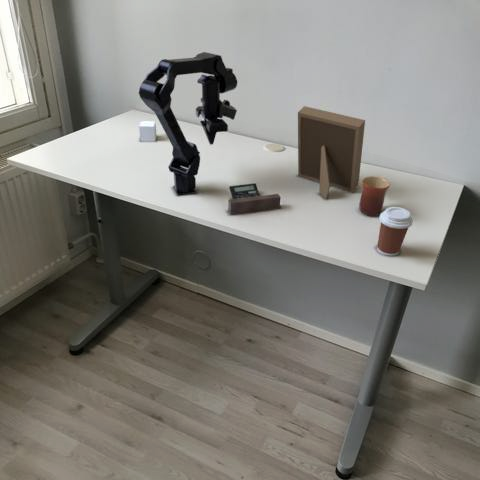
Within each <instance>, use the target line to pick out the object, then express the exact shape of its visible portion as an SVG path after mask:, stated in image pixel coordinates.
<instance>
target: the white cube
mask: <svg viewBox="0 0 480 480" xmlns="http://www.w3.org/2000/svg"><path fill="white" fill-rule="evenodd" d="M156 123H157V122H156V121H148V120H147V121H144V120H143V121H140V123H139V125H138V129H139V138H140V142H156V140H157V136H158V135H157V124H156Z"/></svg>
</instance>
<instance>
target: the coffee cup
mask: <svg viewBox="0 0 480 480" xmlns="http://www.w3.org/2000/svg"><path fill="white" fill-rule="evenodd" d="M411 215H412V214H411V212H410V211H409V210H408V209H405V208H403V207H399V206H389V207H387V208H386V209H384V211H382V212H380V214H379V216H378V217H379V218H378V219H379V221H380V226H379V232H378V239H377V247H376V249H377V251H378V253H380V254H382V255H384V256H389V257H394V256H397V255H399V254H400V250H401V248H402V246H403V243H404V240H405V238H406V236H407V232H408V230H409V228H410V227H412V226H413V224H414V223H413V222H414V219H413V217H412V216H411Z"/></svg>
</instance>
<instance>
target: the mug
mask: <svg viewBox="0 0 480 480" xmlns="http://www.w3.org/2000/svg"><path fill="white" fill-rule="evenodd" d="M361 185H362V191H361V195H360V198H359V199H360V200H359V204H358V205H359V206H358V211H360V213H361V214H362V215H365V216H369V217H375V216H378V215H380V214H381V213H382V210H383V207H384V203H385V202H384V201H385V197H386V194H387V191H388V190H389V188H390V187H391V182H390V181H389V179H388V178H385V177H380V176H375V175H374V176H365V177H363V178H362V180H361Z"/></svg>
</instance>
